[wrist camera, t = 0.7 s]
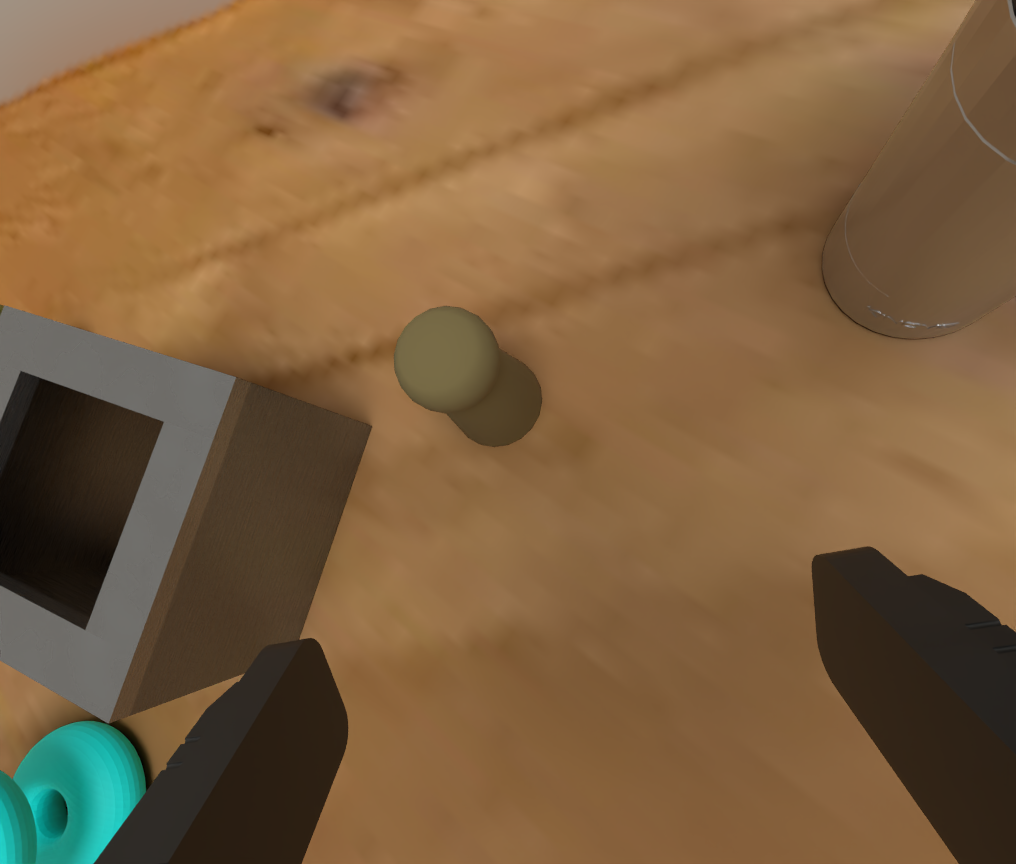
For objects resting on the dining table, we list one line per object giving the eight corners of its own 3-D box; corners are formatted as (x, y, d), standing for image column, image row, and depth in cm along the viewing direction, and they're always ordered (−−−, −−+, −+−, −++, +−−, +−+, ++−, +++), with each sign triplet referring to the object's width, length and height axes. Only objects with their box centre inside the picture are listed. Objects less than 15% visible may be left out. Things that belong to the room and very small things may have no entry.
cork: (555, 371, 35) (516, 305, 24) (522, 459, 35) (468, 431, 24) (472, 345, 37) (402, 273, 26) (439, 429, 36) (355, 390, 26)
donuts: (-182, 904, 30) (-90, 737, 30) (20, 812, 39) (87, 686, 40) (-82, 1041, 27) (18, 856, 27) (109, 906, 36) (181, 769, 37)
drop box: (194, 370, 42) (4, 305, 30) (371, 426, 38) (236, 377, 25) (118, 572, 41) (-115, 593, 28) (293, 655, 36) (108, 723, 24)
